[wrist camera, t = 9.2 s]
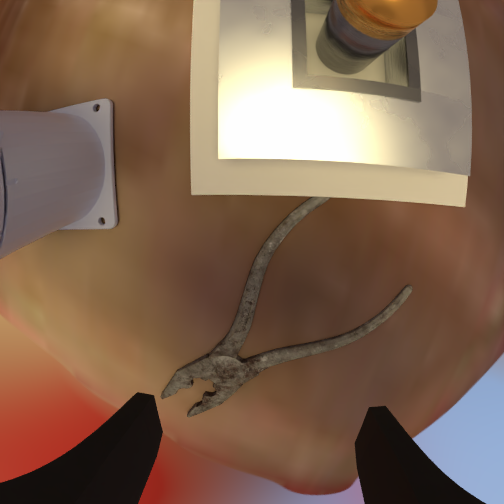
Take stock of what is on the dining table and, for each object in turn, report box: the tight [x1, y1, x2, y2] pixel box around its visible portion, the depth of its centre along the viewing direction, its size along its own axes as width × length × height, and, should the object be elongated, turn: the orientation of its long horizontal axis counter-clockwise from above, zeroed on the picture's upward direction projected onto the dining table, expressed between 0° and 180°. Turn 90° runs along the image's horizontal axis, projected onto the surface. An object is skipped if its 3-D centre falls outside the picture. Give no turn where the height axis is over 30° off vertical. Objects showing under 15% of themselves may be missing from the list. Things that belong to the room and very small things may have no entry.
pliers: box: [161, 196, 412, 417], centre depth 20 cm, size 10×1×20 cm
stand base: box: [190, 0, 468, 207], centre depth 14 cm, size 16×16×1 cm
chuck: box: [218, 0, 472, 176], centre depth 12 cm, size 12×12×3 cm
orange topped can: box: [316, 0, 438, 75], centre depth 10 cm, size 3×3×8 cm
